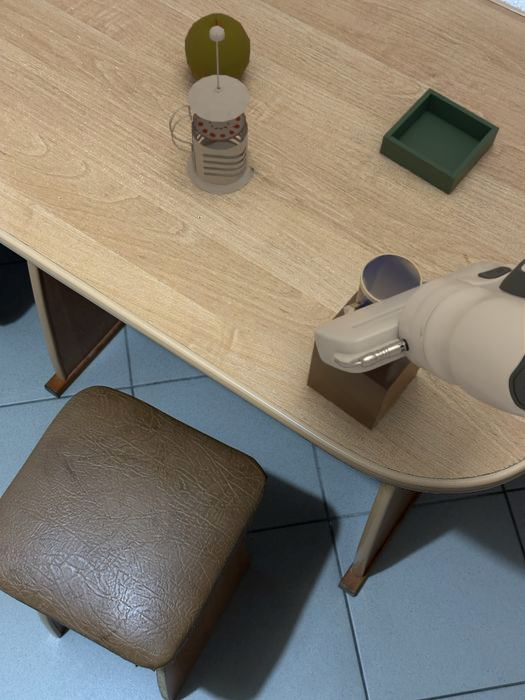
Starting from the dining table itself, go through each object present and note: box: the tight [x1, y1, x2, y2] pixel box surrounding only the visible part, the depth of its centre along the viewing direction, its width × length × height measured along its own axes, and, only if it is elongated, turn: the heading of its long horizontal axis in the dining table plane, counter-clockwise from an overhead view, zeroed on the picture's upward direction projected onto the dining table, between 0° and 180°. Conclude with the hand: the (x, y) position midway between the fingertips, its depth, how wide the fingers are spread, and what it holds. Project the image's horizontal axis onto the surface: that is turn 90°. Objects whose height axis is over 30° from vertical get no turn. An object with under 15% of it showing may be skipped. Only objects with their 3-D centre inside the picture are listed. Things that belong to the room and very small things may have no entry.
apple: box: [184, 12, 251, 81], centre depth 124 cm, size 10×10×11 cm
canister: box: [356, 252, 423, 308], centre depth 89 cm, size 6×6×12 cm
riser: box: [306, 290, 421, 432], centre depth 100 cm, size 10×10×12 cm
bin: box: [379, 87, 500, 196], centre depth 121 cm, size 12×12×4 cm
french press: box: [168, 26, 255, 195], centre depth 109 cm, size 10×12×25 cm
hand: (381, 299), depth 89 cm, fingers closed on canister, 6 cm apart
